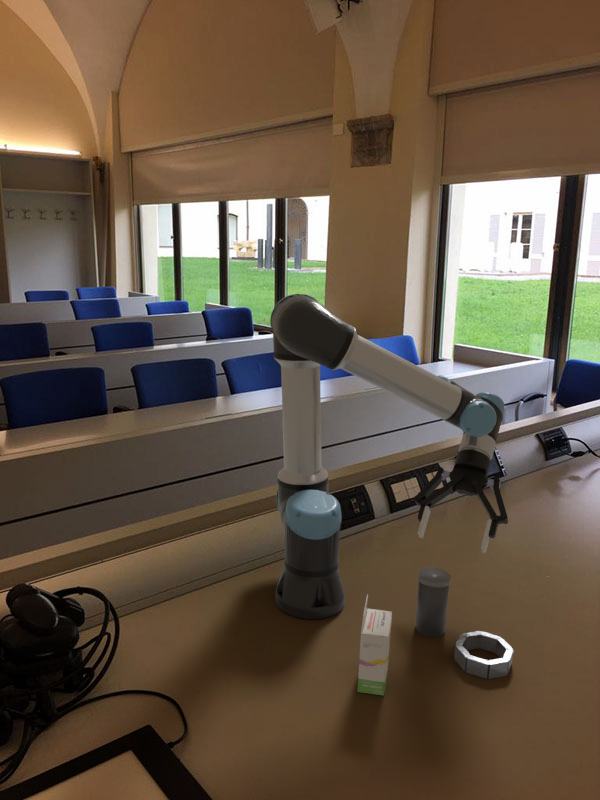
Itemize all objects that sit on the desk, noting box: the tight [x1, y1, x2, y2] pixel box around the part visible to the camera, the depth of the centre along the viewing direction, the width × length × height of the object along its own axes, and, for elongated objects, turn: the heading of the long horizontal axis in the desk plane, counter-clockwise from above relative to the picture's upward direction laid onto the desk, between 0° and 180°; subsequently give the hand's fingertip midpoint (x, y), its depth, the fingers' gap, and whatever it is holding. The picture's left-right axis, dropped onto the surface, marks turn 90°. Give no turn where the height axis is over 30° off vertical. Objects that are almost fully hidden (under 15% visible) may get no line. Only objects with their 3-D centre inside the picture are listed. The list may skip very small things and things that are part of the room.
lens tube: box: [414, 567, 452, 638], centre depth 136 cm, size 6×6×12 cm
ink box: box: [357, 594, 393, 696], centre depth 120 cm, size 9×5×15 cm, turn 168°
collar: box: [453, 630, 514, 680], centre depth 127 cm, size 10×10×3 cm
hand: (451, 543), depth 143 cm, fingers open, 13 cm apart
